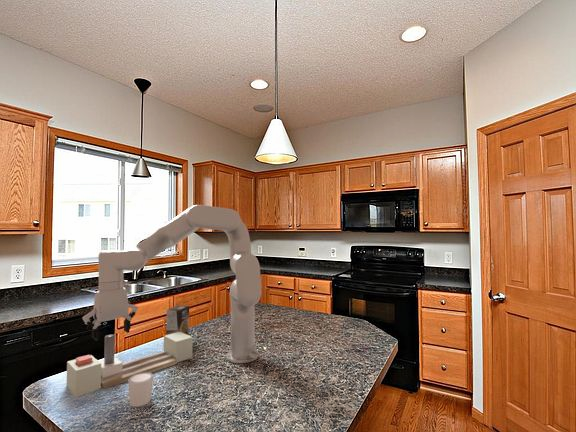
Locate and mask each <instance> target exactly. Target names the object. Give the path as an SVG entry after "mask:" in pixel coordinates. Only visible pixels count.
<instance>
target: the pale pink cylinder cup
mask: <svg viewBox="0 0 576 432" xmlns="http://www.w3.org/2000/svg"><path fill="white" fill-rule="evenodd" d="M127 382H128V395H129V404H130V406H131V407H136V408H137V407H142V406H146V405H147V404H148V403H149V402H151V400H152V399H151V398H152V392H153V391H152V390H153V382H154V374H153V373H139V374H136V375H133V376H131V377H130V378H129V380H128V381H127Z"/></svg>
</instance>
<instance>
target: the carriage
mask: <svg viewBox="0 0 576 432" xmlns="http://www.w3.org/2000/svg"><path fill="white" fill-rule="evenodd" d="M115 341H116V335H115V334H108V335H105V336H104V354H103V355H104V359H103V360H98V361H99V362H100V363H101V377H103V378H104V377H107V376H110V375H113V374H116V373H119V372H122V364H123V362H122V361H121V360H120V359H119V358H117V357H116V356H115V351H116V349H115V347H116V346H115V344H116V342H115Z"/></svg>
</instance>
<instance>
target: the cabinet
mask: <svg viewBox="0 0 576 432" xmlns="http://www.w3.org/2000/svg"><path fill="white" fill-rule="evenodd" d="M193 339H194V338H193V336H191V335H190V334H189V335H187V334H184V333H182V332H176V333H173V334H169V335H166V334H165V335H163V352H164V351H166V355H172V358H173V359H175V360H176V364H177V363H180V362H183V361H185V360H189V359H191V358H193Z"/></svg>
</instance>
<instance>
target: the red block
mask: <svg viewBox="0 0 576 432" xmlns="http://www.w3.org/2000/svg"><path fill="white" fill-rule="evenodd" d="M90 355H91V354H87V355H82V356H78V357H75V359H76V365H77V366H78V367H79V366H82V365H86V364H89V363H92V357H91V356H90Z"/></svg>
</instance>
